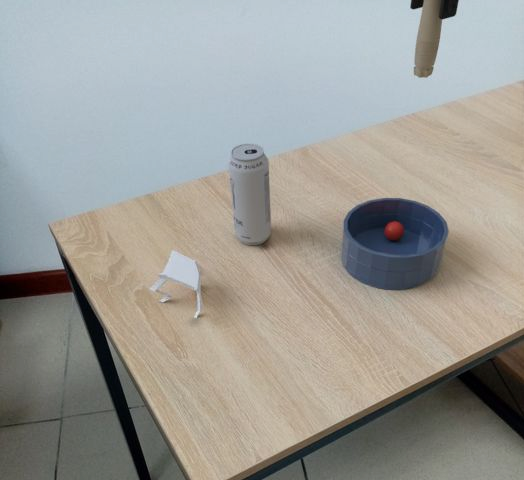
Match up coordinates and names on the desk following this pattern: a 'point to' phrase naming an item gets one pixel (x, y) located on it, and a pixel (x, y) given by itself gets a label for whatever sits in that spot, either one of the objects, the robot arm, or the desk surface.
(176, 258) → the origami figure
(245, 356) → the desk surface
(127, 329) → the desk surface
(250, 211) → the energy drink can
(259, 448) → the desk surface
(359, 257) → the bowl
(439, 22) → the handle
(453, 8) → the robot arm
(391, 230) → the bead
